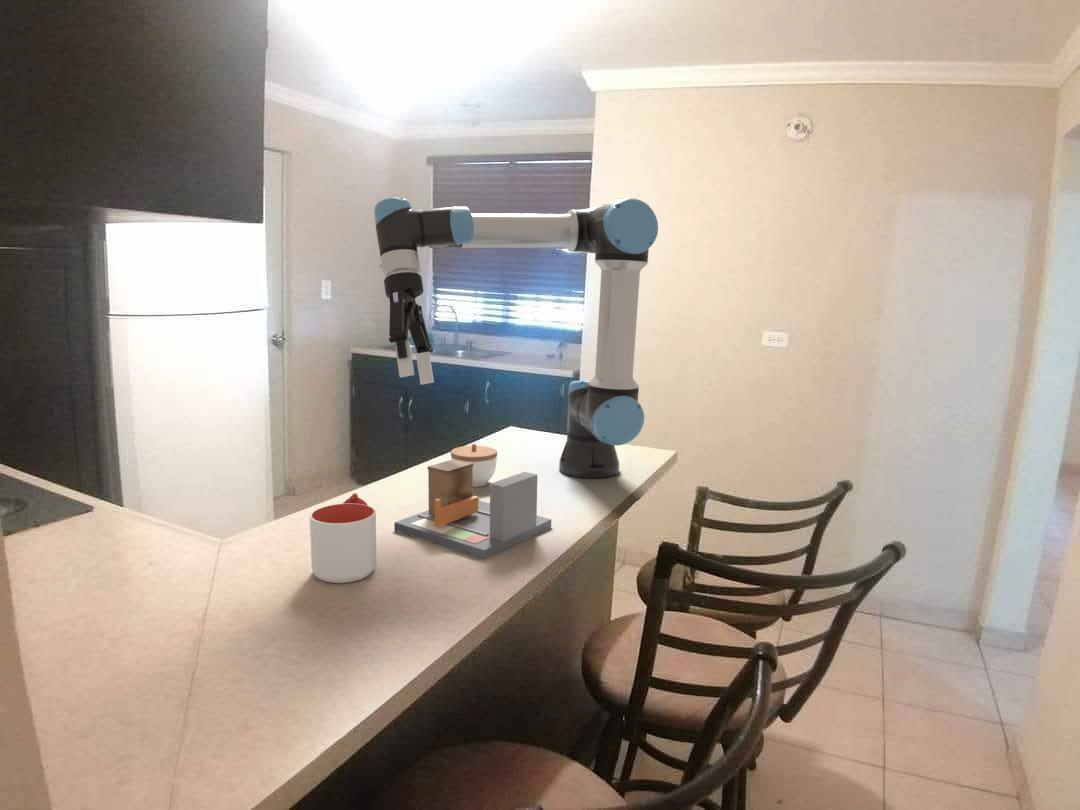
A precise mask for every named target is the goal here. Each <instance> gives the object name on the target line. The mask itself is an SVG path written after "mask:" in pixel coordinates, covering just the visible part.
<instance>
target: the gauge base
mask: <svg viewBox="0 0 1080 810" xmlns="http://www.w3.org/2000/svg"><path fill="white" fill-rule="evenodd" d="M537 508H538V474H537V473H532V472H527V471H524V472H520V473H517V474H514V475H511V476H508V477H506V478H503V479H500V480H497V481H494V482H491V483H490V484H489V502H485V501H483V500H479V499H478V512H476V513H474V514H471V515H468V516H466V517H463V518H461V519H458V520H455V521H453V522H450V523H448V524H445V525H443V526H440V527H437V526H435V516H432V515H429V509H427V510H425V511H422V512H420V513H416V514H414V515H411V516H409V517H406V518H403V519H399V520H397V521H395V522H394V524H393V525H394V527H393V528H394V531H395V532H399V533H402V534H405V535H408V536H409V537H414V538H417V539H420V540H423V541H427V542H430V543H433V544H434V545H435V544H437V545H439V546H442V547H445V548H449V549H452V550H453V551H454V550H455V551H457V552H461V553H464V554H467V555H470V556H473V557H476V558H479V559H483V560H486V559H488V558H490V557H492V556H495V555H497V554H498V553H500V552H501V553H502V551H505V550H507V549H509V548H511V547H513V546H515V545H517V544H520V543H521V541H522V542H524V541H526V540H527V538H528V539H529V537H530V538H531V537H534V536H536V535H538V534H540V533H542V532H544V530H545V531H547V530H549V529H551V528H552V518H548V517H543V516H539V515H537V513H538V511H537ZM550 527H551V528H550ZM546 529H547V530H546ZM533 535H534V536H533ZM525 539H526V540H525ZM523 540H524V541H523Z"/></svg>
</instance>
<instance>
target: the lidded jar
mask: <svg viewBox="0 0 1080 810" xmlns="http://www.w3.org/2000/svg"><path fill="white" fill-rule="evenodd" d="M497 456H498V451H497V449H495V448H493V447H489V446H483V445H477V444H476V443H471V445H464V446H459V447H455V448H453V449H451V451H450V460H452V459H455V460H459V461H464V462H468V463H473V467H472V488H475V487H476V488H477V487H478V486H479V487H483V485H484V486H485V485H487V484H488V482H489V481H490V480H491V479H492V478H493V476H494V475H495V471H496V467H497Z"/></svg>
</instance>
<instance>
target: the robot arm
mask: <svg viewBox="0 0 1080 810" xmlns="http://www.w3.org/2000/svg"><path fill="white" fill-rule="evenodd" d="M373 212H374V222H375V223H374V224H375V231H376V237H377V243H378V250H379V255H380V261H381V263H380V264H379V265H378V267H379V269H381V270H382V276H383V278H384V280H383V283H384V291H385V292H384V293H385V296H386V297H387V299H389V326H388V327H389V330H388V334H389V337H388V340H389V343H390V344H392V343H393V344H394V347H395V354H396V355H395V356H396V361H397V363H396V364H397V369H398V375H399V378H405V377H411V376H415V370H414V362H413V354H412V350H411V341H409V340H408V339H409V338H408V336H409V333H410V336H411V339H412V340H413V341H412V342H413V344H414V347H415V350H416V353H415V357H416V364H417V370H418V377H419V382H420V383H419V384H420V385H427V384H433V383H435V379H434V374H433V367H432V361H431V360H432V359H431V353H433V352H434V348H433V347H432V345H431V342H430V338H429V333H428V330H427V325H426V322H425V320H424V315H423V309H422V306H421V304H417V301H416V298H418V297H420V296H421V295H423V293H424V286H423V285H424V284H423V278H422V275H421V272H422V270H421V265H420V264H421V262H420V257H419V252H418V248H425V247H429V248H430V249H432V250H433V249H434V250H440V249H460V248H463V249H467V248H475V249H476V248H478V249H480V248H496V249H497V248H502V249H503V248H566V249H567V250H568V251H569V252H570V253H576V252H579V253H580V252H581V253H589V254H595V257H594V260H595V261H594V262H595V264H596V265H598V267H599V268H600V270H601V273H600V287H599V305H598V306H599V307H598V317H597V320H598V321H597V336H596V353H595V354H596V356H595V357H596V358H595V370H594V371H595V372H594V377H592V378H591V379H590V380H572V381H571V382H570V383H569V385H568V392H567V422H566V423H567V424H566V426H567V428H566V430H567V431H566V432H567V433H566V442H565V444H564V447H563V450H562V453H561V455H560V457H559V463H558V465H559V467H558V468H559V469H558V470H559V471H560V472H561V473H562V474H565V475H568V476H570V477H576V478H583V479H584V478H586V479H600V478H601V479H602V478H610V477H614V476H617V475H618V474H619V473H620V461H619V458H618V454H617V450H616V447H615V446H622V445H626V444H628V443H630V442H632V441H633V440H634V439H636V437H638V435H639V434H640V433H641V432H642V429H643V428H644V423H645V412H644V410H643V407H642V405H641V404H640V403H639V393H640V392H639V389H640V388H639V387H640V386H639V385H640V384H638V383H637V381H636V380H635V379H634V363H635V349H636V335H637V321H638V306H639V291H640V276H641V271H642V270H643V269H644V268H645V267H646V266H647V265H648V263H649V262H648V261H649V251H650V250H649V249H650V248H651V247H652V246H653V244H655V241H656V239H657V236H658V232H659V222H658V219H657V216H656V213H655V211H654V210H653V209H652V207H650V206H649V204H648V203H646V202H644V201H643V200H641V199H639V198H632V197H631V198H630V197H629V198H627V197H626V198H618V199H615V200H614V201H611V202H608V203H603V204H600V205H598V206H594V207H590V208H584V209H569V210H568V212H566V213H560V214H559V213H556V214H555V213H472V211H471V209H470V208H469V207H467V206H455V205H454V206H449V207H447V206H446V207H437V208H425V209H417V208H413V207H412V205H411V203H410V201H409V200H408V199H406V198H403V197H401V198H399V197H395V196H394V197H388V198H383V199H382V200H380V201H378V202H377V203H376V204H375V207H374V210H373Z"/></svg>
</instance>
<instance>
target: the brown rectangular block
mask: <svg viewBox="0 0 1080 810" xmlns="http://www.w3.org/2000/svg"><path fill="white" fill-rule="evenodd" d="M472 467H473V463H468V462H464V461H459V460H455V459H452V460H451V459H449V460H446V461H442V462H439V463H436V464H431V465H428V466H427V470H428V471H427V472H428V485H427V486H428V510H429V515H432V516H435V499H440V500H441V508H442V507H445V506H447V505H450V504H453V503H456V502H459V501H461V500H464V499H467V498H470V497H473V487H472Z"/></svg>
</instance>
